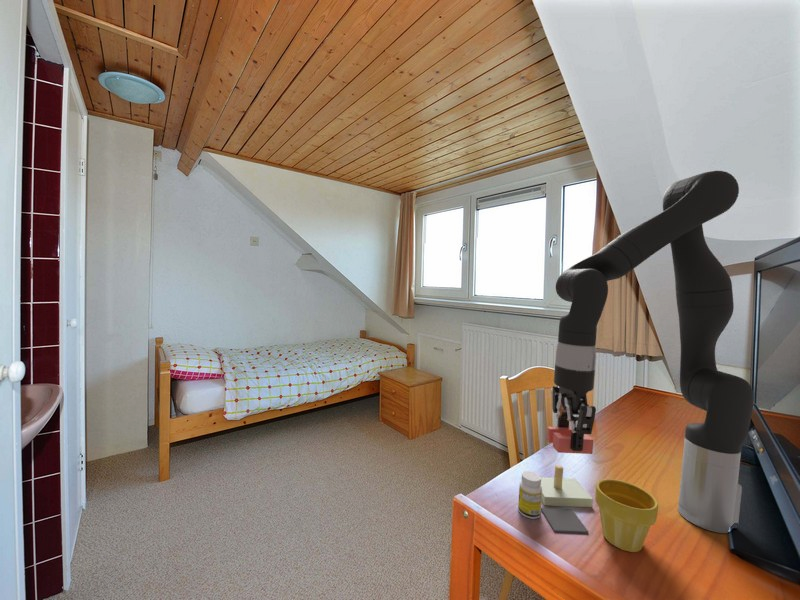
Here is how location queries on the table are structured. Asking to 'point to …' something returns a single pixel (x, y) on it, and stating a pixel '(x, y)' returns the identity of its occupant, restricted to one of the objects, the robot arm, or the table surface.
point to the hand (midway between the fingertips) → (568, 442)
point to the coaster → (564, 520)
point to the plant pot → (625, 513)
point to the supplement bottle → (530, 495)
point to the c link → (567, 440)
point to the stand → (564, 491)
